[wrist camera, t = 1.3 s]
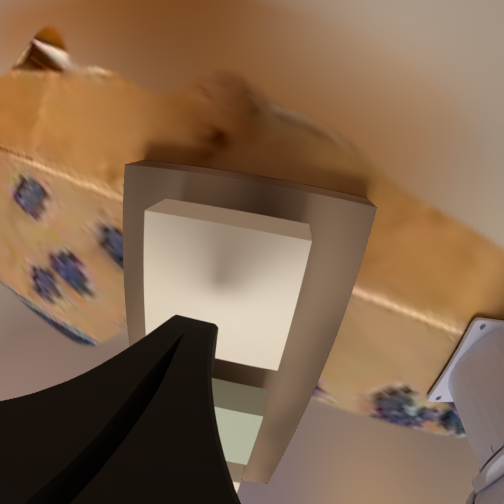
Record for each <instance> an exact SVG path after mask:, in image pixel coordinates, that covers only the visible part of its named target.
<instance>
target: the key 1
mask: <svg viewBox="0 0 504 504" xmlns="http://www.w3.org/2000/svg"><path fill="white" fill-rule="evenodd" d="M311 243H312V237H311V231H310V224H306V223H301V222H296V221H291V220H286V219H280V218H275V217H270V216H265V215H259V214H254V213H248V212H243V211H237V210H232V209H226V208H220V207H214V206H209V205H203V204H197V203H191V202H184V201H178V200H172V199H164V200H162V201H161V202H159V203H157V204H155V205H153V206H151V207H150V208H148V209H146V210H145V215H144V308H145V329H146V335H148V334H149V333H150V332H152V331H153V330H155V329H156V328H157V327H159V326H160V325H161V324H163V323H164V322H165V321H167V320H168V319H170V318H171V317H172V316H174V315H180V316H184V317H189V318H193V319H197V320H201V321H205V322H210V323H214V324H216V325H217V327H218V336H217V344H216V353H215V358H217V359H221V360H226V361H230V362H235V363H240V364H245V365H249V366H255V367H260V368H265V369H270V370H276V371H278V368H279V364H280V361H281V358H282V354H283V351H284V347H285V344H286V340H287V337H288V333H289V329H290V326H291V322H292V318H293V315H294V311H295V307H296V304H297V300H298V296H299V292H300V288H301V284H302V280H303V276H304V272H305V268H306V264H307V260H308V256H309V252H310V248H311Z"/></svg>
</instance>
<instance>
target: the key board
mask: <svg viewBox="0 0 504 504" xmlns="http://www.w3.org/2000/svg"><path fill="white" fill-rule="evenodd" d="M164 199H172V200H178V201H184V202H191V203H197V204H203V205H209V206H214V207H220V208H226V209H232V210H237V211H243V212H248V213H254V214H259V215H265V216H270V217H275V218H280V219H286V220H291V221H296V222H301V223H306V224H310V231H311V237H312V243H311V248H310V252H309V256H308V260H307V264H306V268H305V272H304V276H303V280H302V284H301V288H300V292H299V296H298V300H297V304H296V307H295V311H294V315H293V318H292V322H291V326H290V329H289V333H288V337H287V340H286V344H285V347H284V351H283V354H282V358H281V361H280V364H279V368H278V371H276V370H270V369H265V368H260V367H255V366H249V365H245V364H240V363H235V362H230V361H226V360H221V359H217V358H215V362H214V371H213V375H212V378H215V379H219V380H224V381H228V382H233V383H237V384H242V385H247V386H252V387H257V388H263V389H267V395H266V402H265V409H264V416H263V419H262V422H261V425H260V428H259V431H258V434H257V437H256V440H255V443H254V446H253V449H252V452H251V455H250V458H249V460H248V463H247V465H244V467H243V472H242V477H241V480H247V481H252V482H259V483H265V484H267V483H268V482H269V480H270V478H271V476H272V475H273V473H274V471H275V469H276V467H277V465H278V463H279V462H280V460H281V458H282V456H283V454H284V452H285V450H286V448H287V446H288V444H289V442H290V440H291V438H292V436H293V434H294V432H295V430H296V428H297V426H298V424H299V422H300V420H301V418H302V416H303V413H304V411H305V409H306V407H307V405H308V403H309V400H310V398H311V396H312V394H313V391H314V389H315V387H316V385H317V382H318V380H319V378H320V375H321V373H322V370H323V368H324V366H325V363H326V361H327V358H328V356H329V353H330V351H331V348H332V346H333V343H334V340H335V338H336V335H337V332H338V330H339V327H340V324H341V322H342V319H343V316H344V313H345V310H346V308H347V305H348V302H349V299H350V296H351V293H352V290H353V287H354V284H355V281H356V278H357V275H358V272H359V268H360V265H361V262H362V259H363V255H364V252H365V248H366V245H367V242H368V238H369V234H370V231H371V227H372V224H373V220H374V216H375V212H376V208H377V207H376V206H375V205H374V204H373V203H371V202H370V201H369V200H368V199H367V198H363V197H359V196H355V195H351V194H346V193H342V192H338V191H333V190H329V189H324V188H319V187H314V186H310V185H305V184H300V183H295V182H289V181H284V180H279V179H273V178H268V177H262V176H256V175H250V174H244V173H238V172H232V171H225V170H219V169H212V168H205V167H197V166H190V165H182V164H174V163H165V162H156V161H147V160H142V161H138V162H133V163H129V164H125V174H124V195H123V266H124V287H125V303H126V316H127V327H128V336H129V345H130V346H132V345H133V344H134V343H136V342H137V341H139V340H140V339H142V338H143V337H145V336H146V329H145V308H144V215H145V210H146V209H148V208H150V207H151V206H153V205H155V204H157V203H159V202H161V201H162V200H164Z"/></svg>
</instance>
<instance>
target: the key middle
mask: <svg viewBox="0 0 504 504" xmlns="http://www.w3.org/2000/svg"><path fill="white" fill-rule="evenodd" d="M212 390H213V400H214V408H215V415H216V421H217V426H218V431H219V436H220V440H221V444H222V448H223V452H224V456H225V459H226V461H228V462H233V463H239V464H244V465H247V463H248V460H249V458H250V455H251V452H252V449H253V446H254V443H255V440H256V437H257V434H258V431H259V428H260V425H261V422H262V419H263V416H264V409H265V402H266V395H267V389H263V388H257V387H252V386H247V385H242V384H237V383H233V382H228V381H224V380H219V379H215V378H212Z"/></svg>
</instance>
